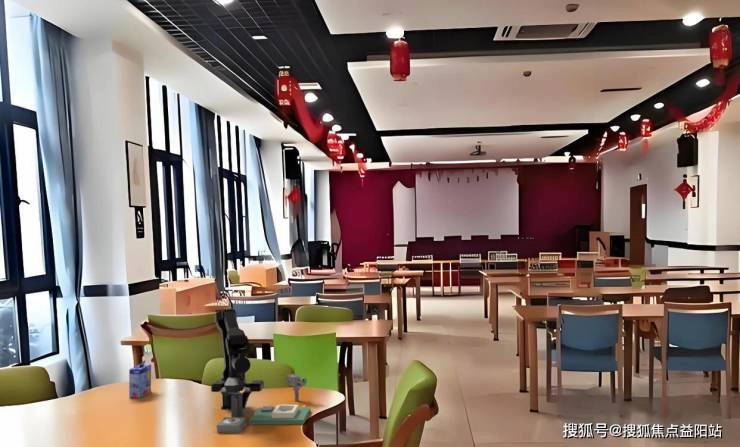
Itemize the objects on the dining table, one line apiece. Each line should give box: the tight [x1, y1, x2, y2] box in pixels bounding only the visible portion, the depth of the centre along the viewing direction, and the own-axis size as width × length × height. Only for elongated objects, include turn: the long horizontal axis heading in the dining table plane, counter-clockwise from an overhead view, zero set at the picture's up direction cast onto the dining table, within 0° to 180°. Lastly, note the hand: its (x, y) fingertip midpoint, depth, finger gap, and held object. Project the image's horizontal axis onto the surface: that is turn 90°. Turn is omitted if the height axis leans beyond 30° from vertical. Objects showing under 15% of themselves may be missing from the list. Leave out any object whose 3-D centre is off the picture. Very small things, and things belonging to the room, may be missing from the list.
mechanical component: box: [285, 373, 307, 402], centre depth 227 cm, size 3×10×10 cm, turn 53°
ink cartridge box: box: [128, 359, 152, 399], centre depth 242 cm, size 10×6×14 cm, turn 175°
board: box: [248, 404, 311, 425], centre depth 207 cm, size 20×14×4 cm
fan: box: [216, 416, 247, 434], centre depth 197 cm, size 8×8×3 cm
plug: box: [230, 392, 246, 417], centre depth 207 cm, size 4×5×8 cm
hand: (238, 408), depth 208 cm, fingers closed on plug, 4 cm apart
